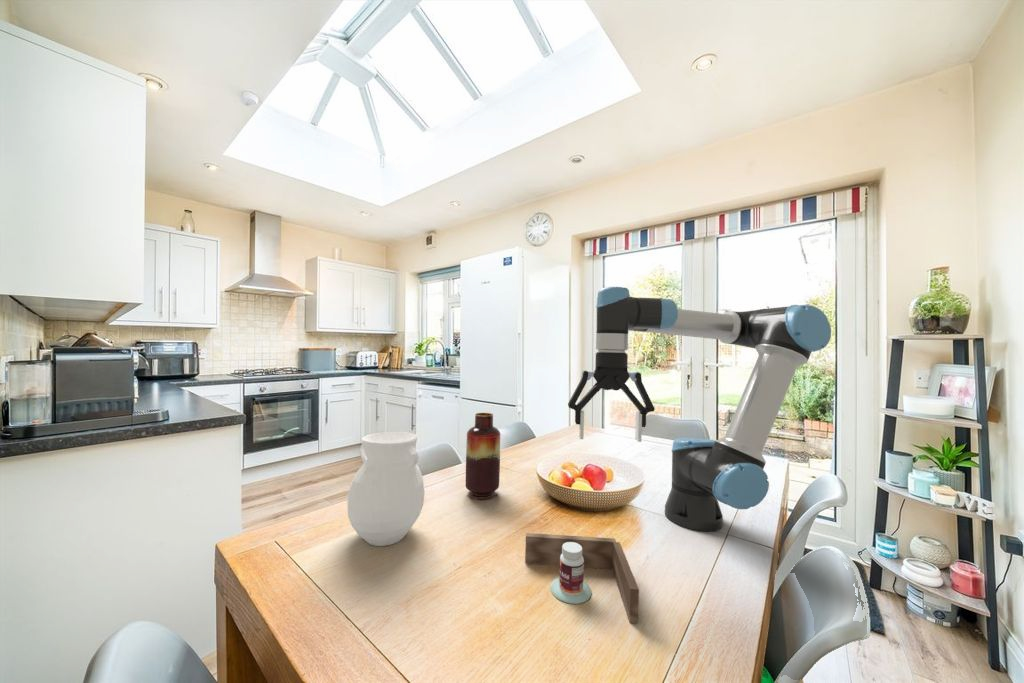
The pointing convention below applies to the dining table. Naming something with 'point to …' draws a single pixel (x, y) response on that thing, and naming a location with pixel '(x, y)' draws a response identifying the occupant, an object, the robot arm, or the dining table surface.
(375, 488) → the white vase
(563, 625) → the dining table surface
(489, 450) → the vase
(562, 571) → the pill bottle
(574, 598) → the disc
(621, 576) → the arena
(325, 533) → the dining table surface
